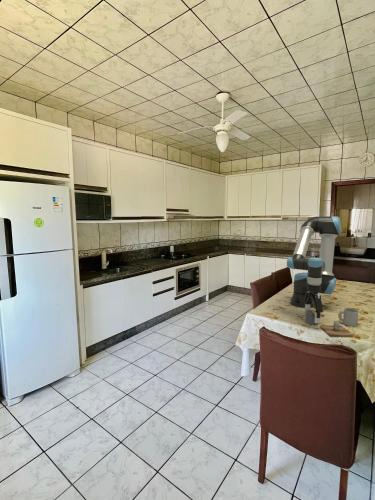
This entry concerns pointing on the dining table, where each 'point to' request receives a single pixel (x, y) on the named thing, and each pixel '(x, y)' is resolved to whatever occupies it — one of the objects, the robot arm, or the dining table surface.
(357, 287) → the dining table surface
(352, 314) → the cup
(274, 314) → the dining table surface
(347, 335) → the shaft block
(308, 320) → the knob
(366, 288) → the dining table surface
